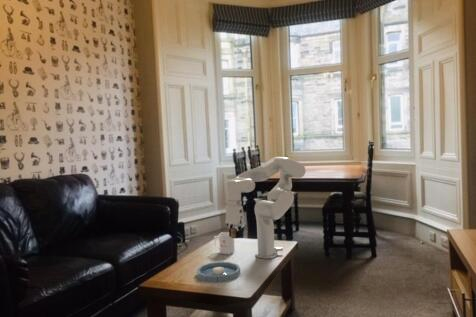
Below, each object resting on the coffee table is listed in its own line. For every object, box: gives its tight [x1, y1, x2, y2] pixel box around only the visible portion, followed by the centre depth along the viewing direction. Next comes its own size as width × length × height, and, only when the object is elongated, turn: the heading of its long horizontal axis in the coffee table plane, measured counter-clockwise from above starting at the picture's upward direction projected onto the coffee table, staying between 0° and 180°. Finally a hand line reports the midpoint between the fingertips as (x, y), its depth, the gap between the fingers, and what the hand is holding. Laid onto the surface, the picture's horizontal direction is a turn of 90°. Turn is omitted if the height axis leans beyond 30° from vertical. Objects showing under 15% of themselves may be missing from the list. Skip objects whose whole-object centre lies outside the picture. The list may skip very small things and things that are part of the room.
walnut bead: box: [231, 226, 237, 239], centre depth 216 cm, size 4×4×5 cm
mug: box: [213, 231, 236, 255], centre depth 240 cm, size 12×9×11 cm
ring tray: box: [196, 261, 241, 283], centre depth 205 cm, size 21×21×3 cm
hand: (235, 236), depth 217 cm, fingers closed on walnut bead, 4 cm apart
